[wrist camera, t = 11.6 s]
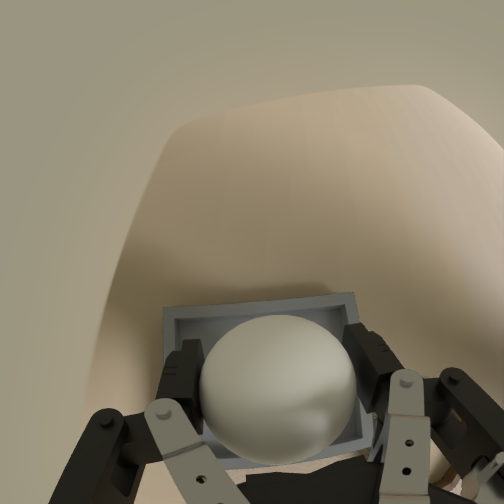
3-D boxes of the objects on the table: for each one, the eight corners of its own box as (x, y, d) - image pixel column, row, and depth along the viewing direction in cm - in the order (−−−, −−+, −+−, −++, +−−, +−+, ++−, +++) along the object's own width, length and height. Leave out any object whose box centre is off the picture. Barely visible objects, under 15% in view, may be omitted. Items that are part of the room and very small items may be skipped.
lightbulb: (259, 325, 19) (271, 257, 9) (329, 378, 18) (415, 365, 8) (199, 392, 17) (141, 400, 7) (272, 448, 16) (300, 516, 6)
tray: (345, 300, 21) (353, 291, 19) (363, 441, 16) (374, 445, 14) (170, 314, 20) (162, 307, 19) (179, 461, 16) (172, 468, 14)
